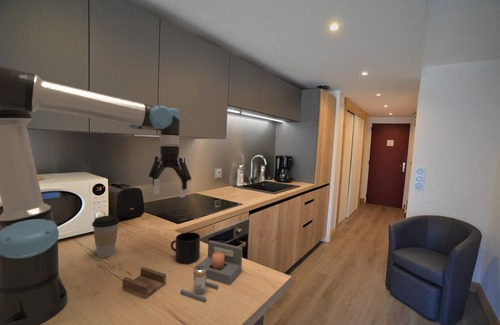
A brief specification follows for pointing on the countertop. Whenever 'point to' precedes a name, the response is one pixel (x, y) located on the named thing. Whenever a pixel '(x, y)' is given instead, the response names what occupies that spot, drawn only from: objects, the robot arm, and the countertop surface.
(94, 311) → the countertop surface
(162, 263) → the countertop surface
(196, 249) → the mug
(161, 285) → the trough
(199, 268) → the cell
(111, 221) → the coffee cup
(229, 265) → the grey blocks and bars
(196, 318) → the countertop surface
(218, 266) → the test button
